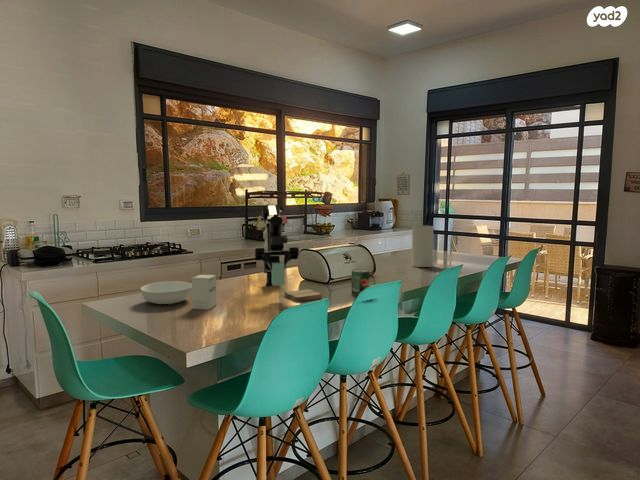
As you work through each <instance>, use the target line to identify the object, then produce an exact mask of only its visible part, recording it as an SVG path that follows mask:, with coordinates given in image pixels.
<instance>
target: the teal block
mask: <svg viewBox="0 0 640 480" xmlns="http://www.w3.org/2000/svg"><path fill="white" fill-rule="evenodd" d="M271 286H273V287H274V286H275V287H276V286H278V287H279V286H285V270H284V261H281V262H277V263H272V285H271Z"/></svg>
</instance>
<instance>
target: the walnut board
mask: <svg viewBox="0 0 640 480" xmlns="http://www.w3.org/2000/svg"><path fill="white" fill-rule="evenodd" d="M322 296H323V294H322V293H320V292H317V291H314V290H312V289H309V288H307V289H300V290H299V289H296V290H292V291H291V290H289V291H285V292H284V297H285V298H286V299H289V300H291V301H294V302H296V303H300V302H301V303H302V302H308V300H309V301H314V300H315V301H316V300H322V299H323V297H322Z"/></svg>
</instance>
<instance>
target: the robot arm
mask: <svg viewBox="0 0 640 480" xmlns="http://www.w3.org/2000/svg"><path fill="white" fill-rule="evenodd" d="M261 217H262V218H261V219H263V223H264V224H265V228H266V234H267V235H266V236H267V237H266V239H267V249H265V247H256V248H255V249H254V259H255V261H262V262H263V273H264V274H266V282H265V286H268V287H269V286H273V285H272V263H277V262H282V260H280V259H281V258H280V257H283V256H284V258H283V263H284V271H286V268H287V264H288V262H289V261H291V260H298V259H299V254H300V250H299V247H298V246H290V247H288V250H284V247H285V246H284V245H285V244H288V235H286V234H283V235H282V232H283V228H284V226H285V222H284V219H283V218H282V217H281V216H280V208H279V207H278V206H277V204H276V203H266V204H265V206H264V207H262V209H261Z"/></svg>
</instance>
